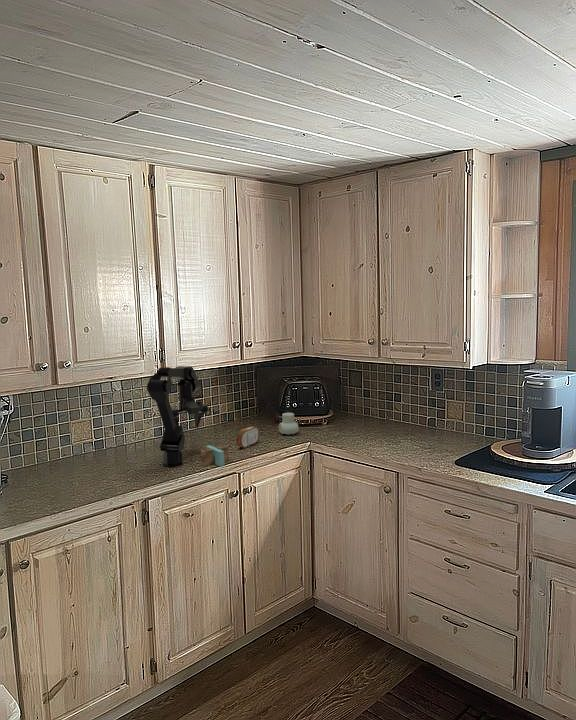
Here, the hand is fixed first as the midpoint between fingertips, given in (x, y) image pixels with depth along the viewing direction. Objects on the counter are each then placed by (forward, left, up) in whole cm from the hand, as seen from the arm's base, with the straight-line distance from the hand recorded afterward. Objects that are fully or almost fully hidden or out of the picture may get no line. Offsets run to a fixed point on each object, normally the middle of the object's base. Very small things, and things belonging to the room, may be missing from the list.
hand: (187, 429), depth 264 cm
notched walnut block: (+3, -19, -11) cm, 22 cm away
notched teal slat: (+3, -19, -11) cm, 22 cm away
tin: (+28, -5, -11) cm, 31 cm away
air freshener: (+55, +1, -11) cm, 56 cm away
